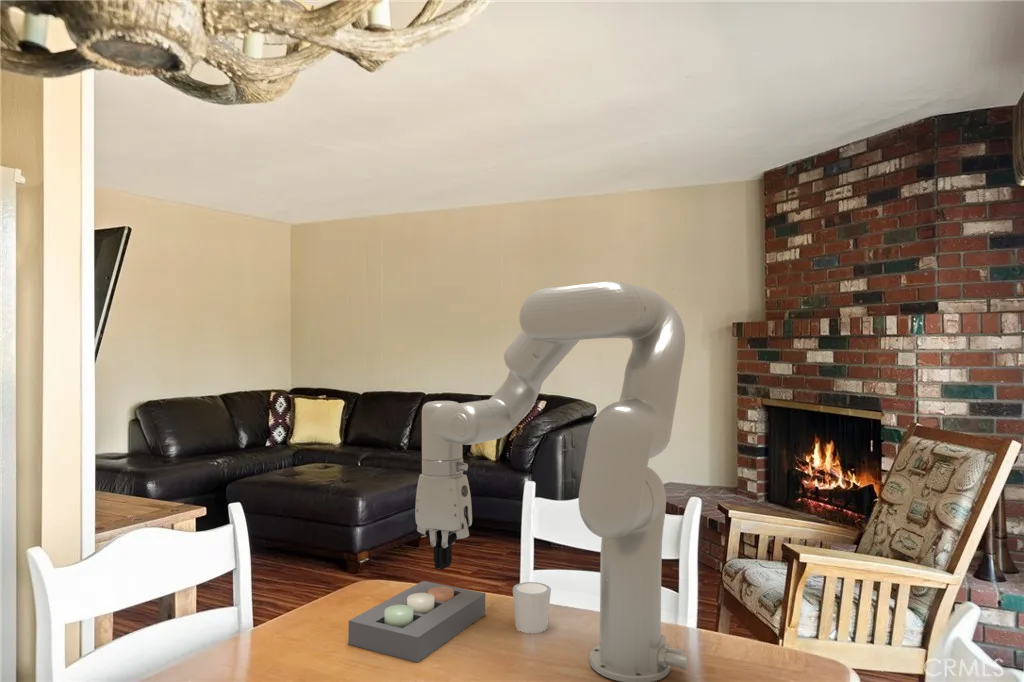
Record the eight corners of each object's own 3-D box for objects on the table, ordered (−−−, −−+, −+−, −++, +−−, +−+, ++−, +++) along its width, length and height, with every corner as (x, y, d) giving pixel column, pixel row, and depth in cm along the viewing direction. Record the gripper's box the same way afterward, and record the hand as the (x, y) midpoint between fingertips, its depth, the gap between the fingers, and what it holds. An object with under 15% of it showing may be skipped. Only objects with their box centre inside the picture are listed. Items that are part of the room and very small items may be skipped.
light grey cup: (551, 635, 119) (551, 595, 119) (511, 634, 119) (512, 594, 119) (549, 619, 126) (550, 581, 126) (512, 619, 126) (512, 581, 126)
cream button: (439, 612, 123) (439, 595, 123) (424, 622, 118) (424, 604, 118) (417, 607, 125) (417, 591, 125) (401, 616, 120) (401, 599, 120)
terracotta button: (458, 605, 128) (458, 589, 128) (444, 614, 124) (444, 597, 124) (436, 600, 130) (436, 585, 131) (422, 609, 126) (422, 593, 126)
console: (485, 614, 128) (485, 593, 128) (417, 662, 108) (417, 637, 109) (422, 601, 134) (423, 580, 134) (348, 644, 115) (348, 620, 115)
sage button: (418, 625, 117) (418, 607, 117) (401, 636, 112) (402, 617, 112) (395, 620, 119) (395, 602, 119) (378, 630, 115) (378, 612, 115)
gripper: (487, 467, 127) (487, 566, 127) (420, 462, 134) (420, 556, 134) (466, 474, 121) (467, 578, 120) (397, 468, 127) (397, 567, 127)
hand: (442, 566), depth 127 cm, fingers closed
